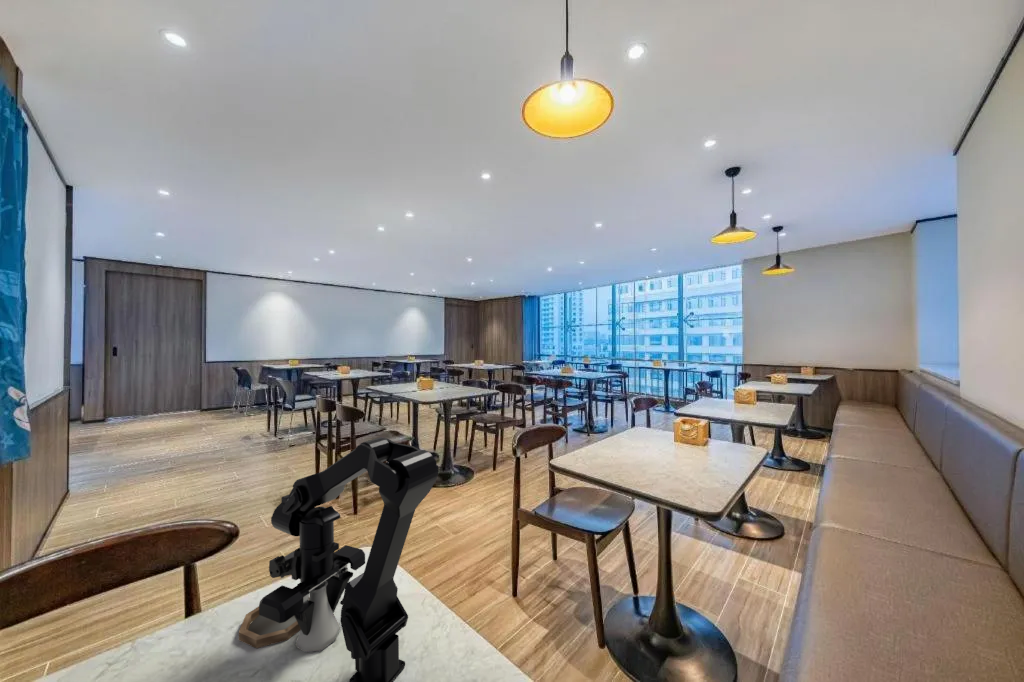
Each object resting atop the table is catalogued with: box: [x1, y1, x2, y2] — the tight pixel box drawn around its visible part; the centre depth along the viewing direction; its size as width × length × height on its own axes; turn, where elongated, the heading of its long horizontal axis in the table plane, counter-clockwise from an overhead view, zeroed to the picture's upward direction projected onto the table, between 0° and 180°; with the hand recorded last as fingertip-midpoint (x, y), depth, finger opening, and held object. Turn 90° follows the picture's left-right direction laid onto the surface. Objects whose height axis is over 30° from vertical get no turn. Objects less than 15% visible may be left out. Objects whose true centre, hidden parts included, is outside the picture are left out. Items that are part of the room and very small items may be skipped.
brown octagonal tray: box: [238, 605, 301, 649], centre depth 76 cm, size 12×12×2 cm
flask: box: [294, 581, 341, 653], centre depth 72 cm, size 7×7×10 cm
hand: (318, 624), depth 72 cm, fingers closed on flask, 5 cm apart
